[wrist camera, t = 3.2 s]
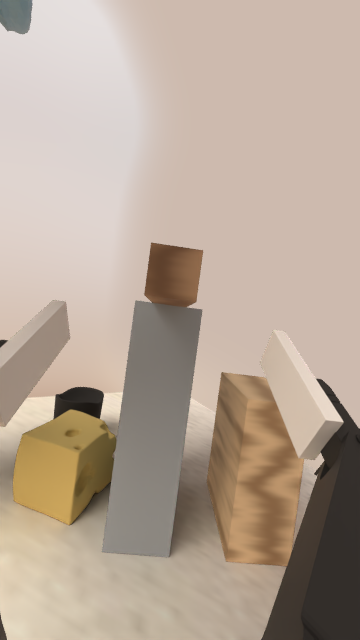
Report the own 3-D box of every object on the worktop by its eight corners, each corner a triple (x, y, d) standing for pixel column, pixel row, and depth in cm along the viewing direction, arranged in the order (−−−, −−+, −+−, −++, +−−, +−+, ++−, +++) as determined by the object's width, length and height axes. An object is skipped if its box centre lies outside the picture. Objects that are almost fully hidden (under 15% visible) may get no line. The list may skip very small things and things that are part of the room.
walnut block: (144, 294, 18) (151, 242, 18) (157, 307, 43) (160, 285, 43) (196, 302, 18) (203, 250, 18) (179, 310, 43) (182, 288, 43)
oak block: (226, 561, 29) (248, 399, 29) (206, 481, 43) (221, 372, 43) (289, 566, 29) (311, 406, 29) (249, 485, 43) (264, 377, 43)
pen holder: (103, 447, 49) (110, 399, 49) (53, 458, 44) (60, 404, 44) (90, 427, 57) (96, 385, 57) (46, 434, 51) (52, 388, 51)
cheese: (113, 480, 40) (121, 421, 40) (67, 532, 30) (78, 454, 30) (64, 462, 43) (71, 407, 43) (6, 504, 33) (15, 432, 33)
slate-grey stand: (101, 551, 28) (135, 300, 28) (123, 473, 42) (145, 306, 42) (169, 557, 28) (202, 309, 28) (168, 478, 42) (190, 312, 42)
